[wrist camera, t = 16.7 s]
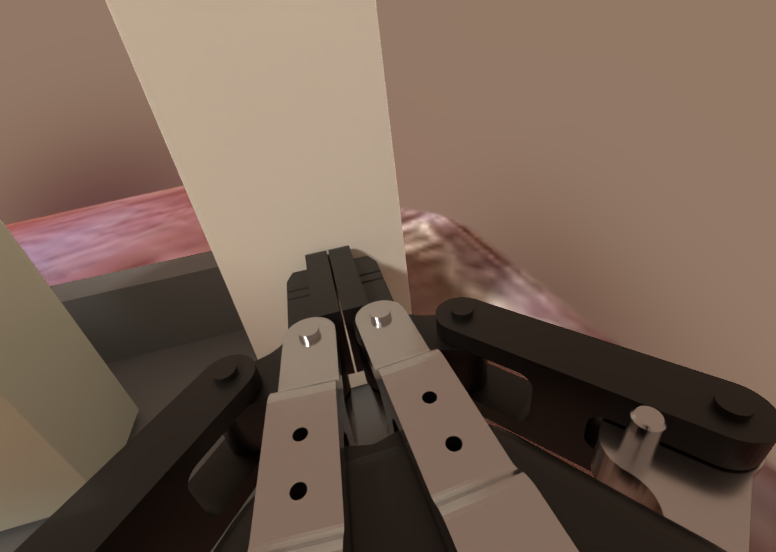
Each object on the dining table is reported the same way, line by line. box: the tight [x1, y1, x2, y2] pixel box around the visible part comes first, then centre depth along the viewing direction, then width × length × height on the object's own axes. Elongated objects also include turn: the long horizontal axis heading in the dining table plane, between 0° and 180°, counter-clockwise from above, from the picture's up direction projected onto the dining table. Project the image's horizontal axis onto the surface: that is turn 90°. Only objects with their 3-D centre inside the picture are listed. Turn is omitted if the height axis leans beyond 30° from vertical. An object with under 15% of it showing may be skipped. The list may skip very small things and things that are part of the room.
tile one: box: [105, 0, 412, 388], centre depth 14 cm, size 4×6×14 cm
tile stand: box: [0, 251, 388, 552], centre depth 16 cm, size 13×31×5 cm, turn 104°
